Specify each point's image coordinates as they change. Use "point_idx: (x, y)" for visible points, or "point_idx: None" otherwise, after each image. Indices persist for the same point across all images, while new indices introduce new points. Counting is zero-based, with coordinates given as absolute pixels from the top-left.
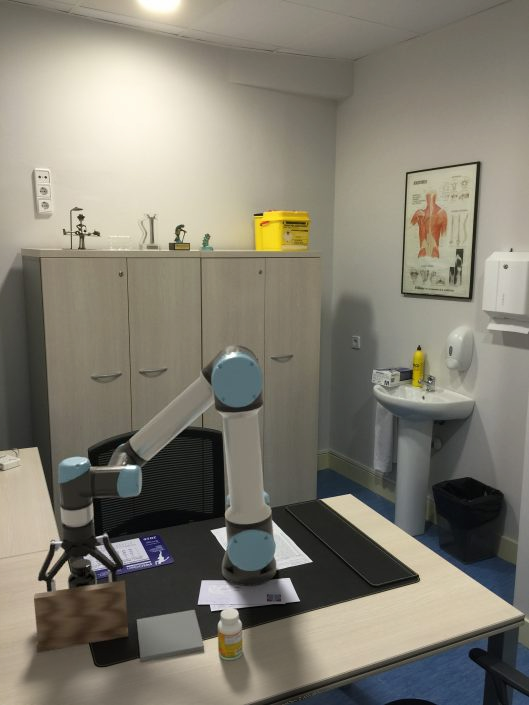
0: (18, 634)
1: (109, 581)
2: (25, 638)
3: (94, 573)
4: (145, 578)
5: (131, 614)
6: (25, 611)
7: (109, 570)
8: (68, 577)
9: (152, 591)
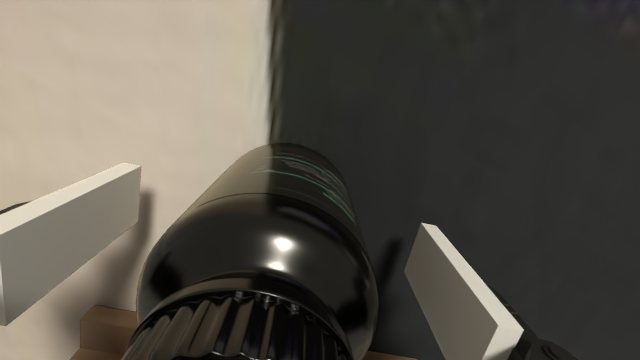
0: None
1: (441, 344)
2: None
3: (364, 352)
4: (637, 97)
5: None
6: (3, 100)
7: (494, 354)
8: (136, 301)
9: (596, 226)
